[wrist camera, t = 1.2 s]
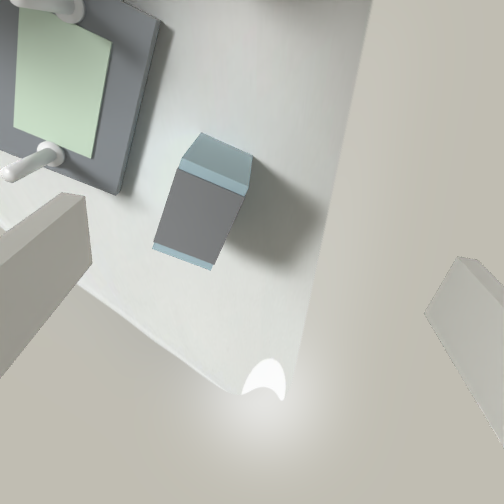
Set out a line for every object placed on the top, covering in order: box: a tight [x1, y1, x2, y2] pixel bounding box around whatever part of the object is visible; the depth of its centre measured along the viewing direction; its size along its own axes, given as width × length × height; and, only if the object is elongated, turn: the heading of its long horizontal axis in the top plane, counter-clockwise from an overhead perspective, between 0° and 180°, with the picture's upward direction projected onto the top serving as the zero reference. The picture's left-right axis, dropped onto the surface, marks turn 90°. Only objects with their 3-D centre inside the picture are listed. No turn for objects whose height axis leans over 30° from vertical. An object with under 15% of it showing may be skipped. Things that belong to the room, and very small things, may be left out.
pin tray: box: [0, 0, 161, 196], centre depth 25 cm, size 12×15×7 cm
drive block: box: [152, 133, 253, 271], centre depth 28 cm, size 5×8×8 cm, turn 156°
